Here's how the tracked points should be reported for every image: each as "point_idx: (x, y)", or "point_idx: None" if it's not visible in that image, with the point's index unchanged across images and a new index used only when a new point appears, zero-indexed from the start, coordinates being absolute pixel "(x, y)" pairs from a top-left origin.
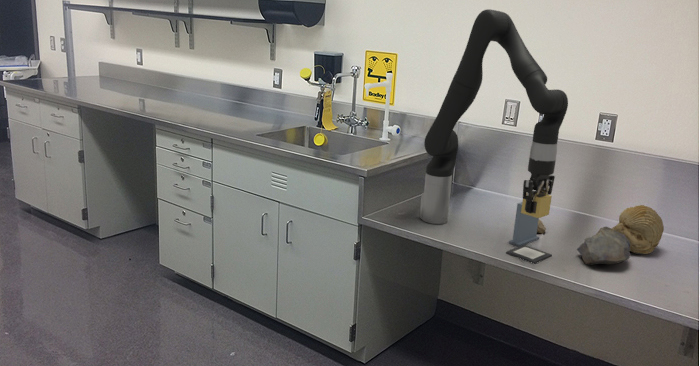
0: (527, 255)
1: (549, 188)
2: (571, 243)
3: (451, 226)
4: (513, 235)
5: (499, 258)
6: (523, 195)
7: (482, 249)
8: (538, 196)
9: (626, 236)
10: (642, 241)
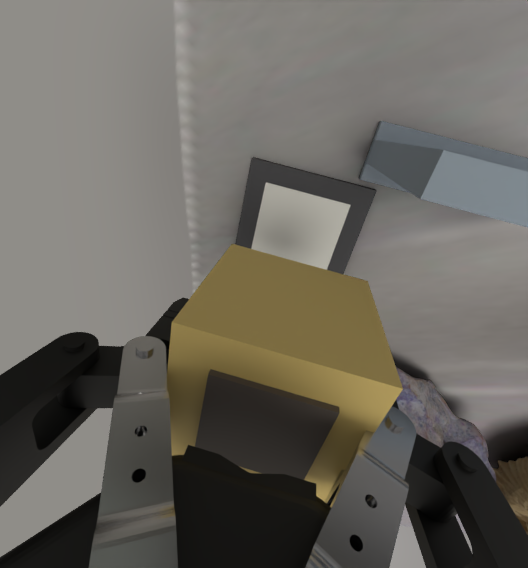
0: (266, 237)
1: (428, 553)
2: (515, 326)
3: None
4: (380, 142)
5: (189, 156)
6: (35, 359)
7: (224, 49)
8: (194, 443)
9: (509, 499)
10: None
